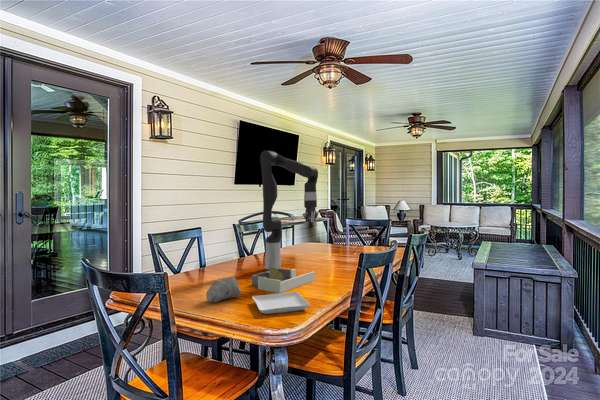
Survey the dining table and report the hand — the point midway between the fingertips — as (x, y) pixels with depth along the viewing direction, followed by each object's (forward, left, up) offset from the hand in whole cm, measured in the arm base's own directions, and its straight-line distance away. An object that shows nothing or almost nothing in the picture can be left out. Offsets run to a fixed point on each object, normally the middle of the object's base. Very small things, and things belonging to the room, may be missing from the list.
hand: (310, 228), depth 227 cm
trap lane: (+1, -30, -27) cm, 40 cm away
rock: (+4, -36, -27) cm, 46 cm away
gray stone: (-2, -68, -27) cm, 73 cm away
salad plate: (+26, -62, -28) cm, 73 cm away
